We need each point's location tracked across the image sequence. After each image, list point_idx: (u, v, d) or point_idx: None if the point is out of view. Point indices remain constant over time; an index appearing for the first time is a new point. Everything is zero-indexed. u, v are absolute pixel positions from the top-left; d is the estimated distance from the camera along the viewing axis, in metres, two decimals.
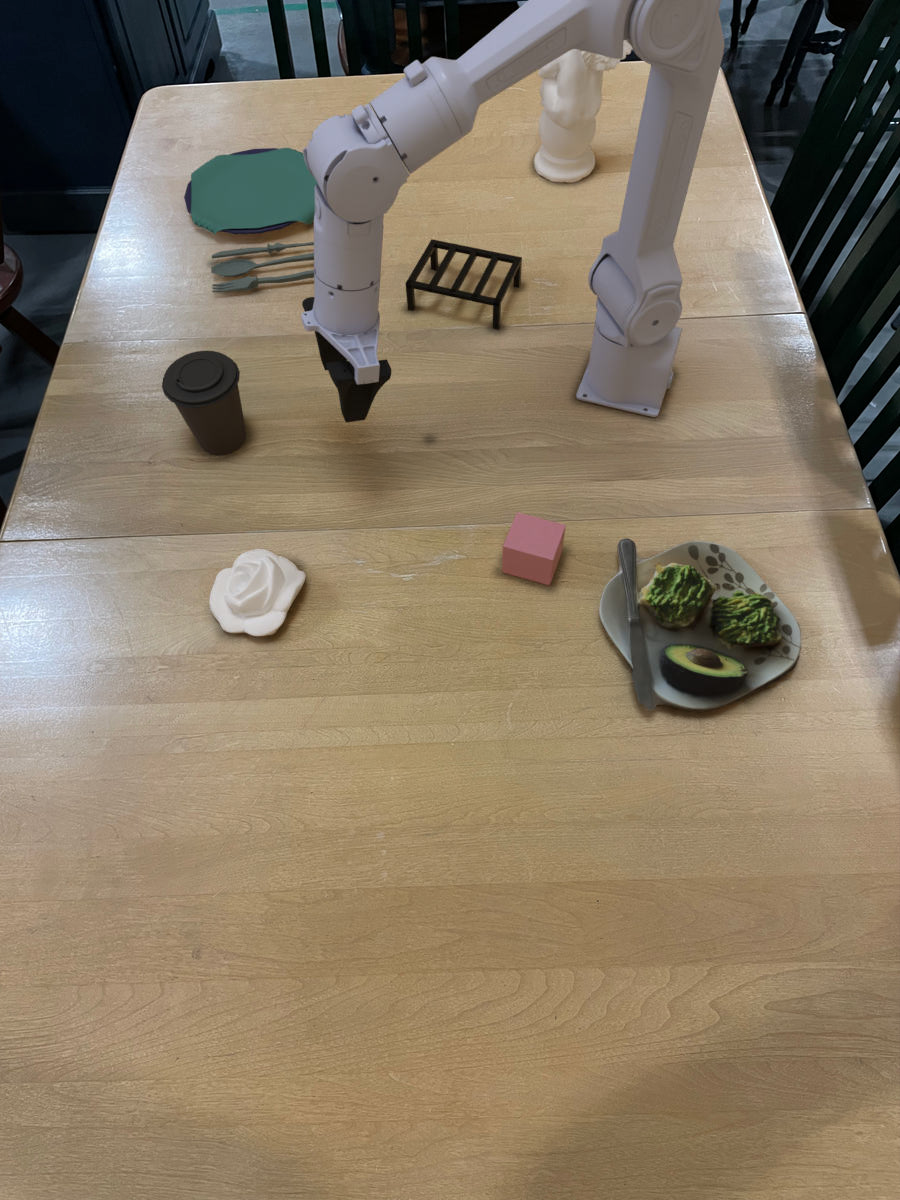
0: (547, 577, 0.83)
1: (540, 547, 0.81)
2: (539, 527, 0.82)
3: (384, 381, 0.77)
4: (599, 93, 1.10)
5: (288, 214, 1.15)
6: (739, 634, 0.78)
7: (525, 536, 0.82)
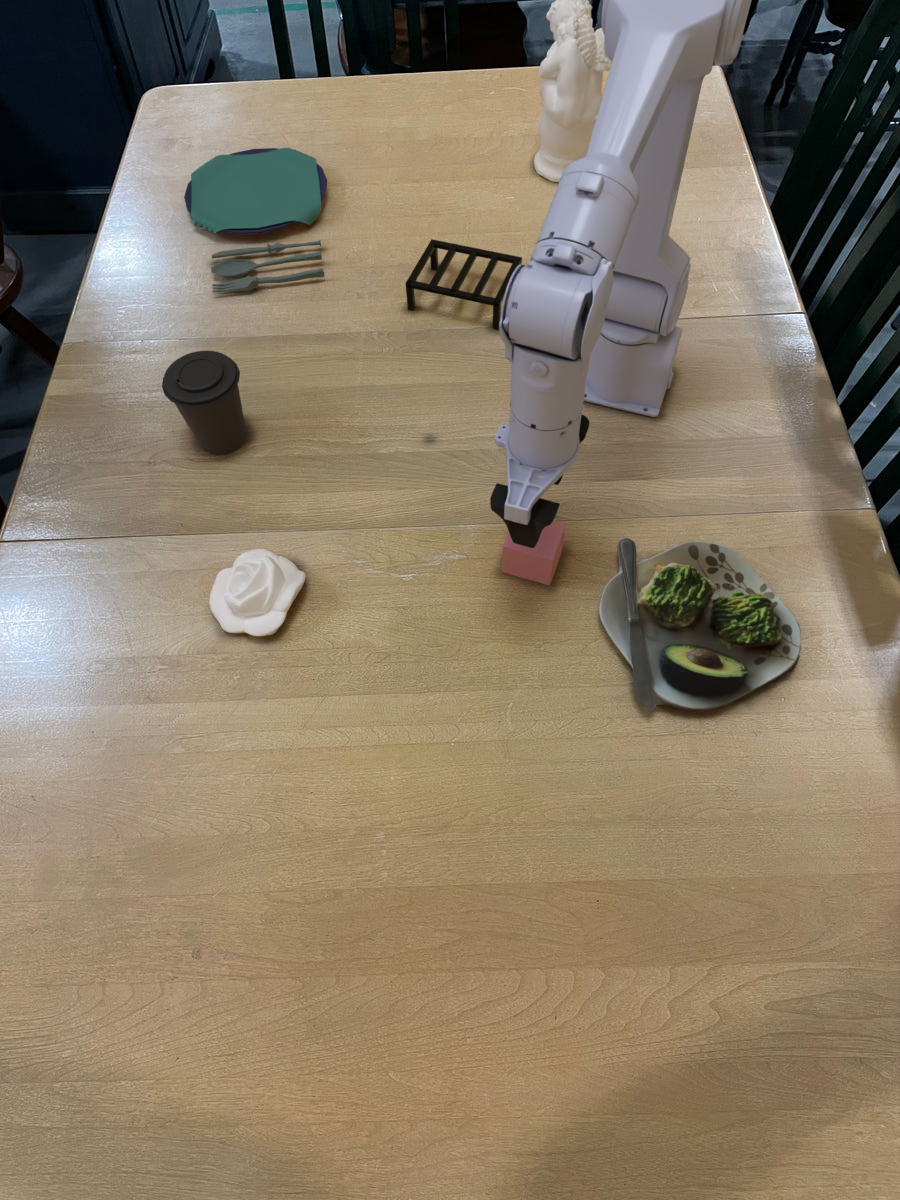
0: (547, 577, 0.83)
1: (540, 547, 0.81)
2: None
3: (543, 525, 0.70)
4: (599, 93, 1.10)
5: (288, 214, 1.15)
6: (739, 634, 0.78)
7: None
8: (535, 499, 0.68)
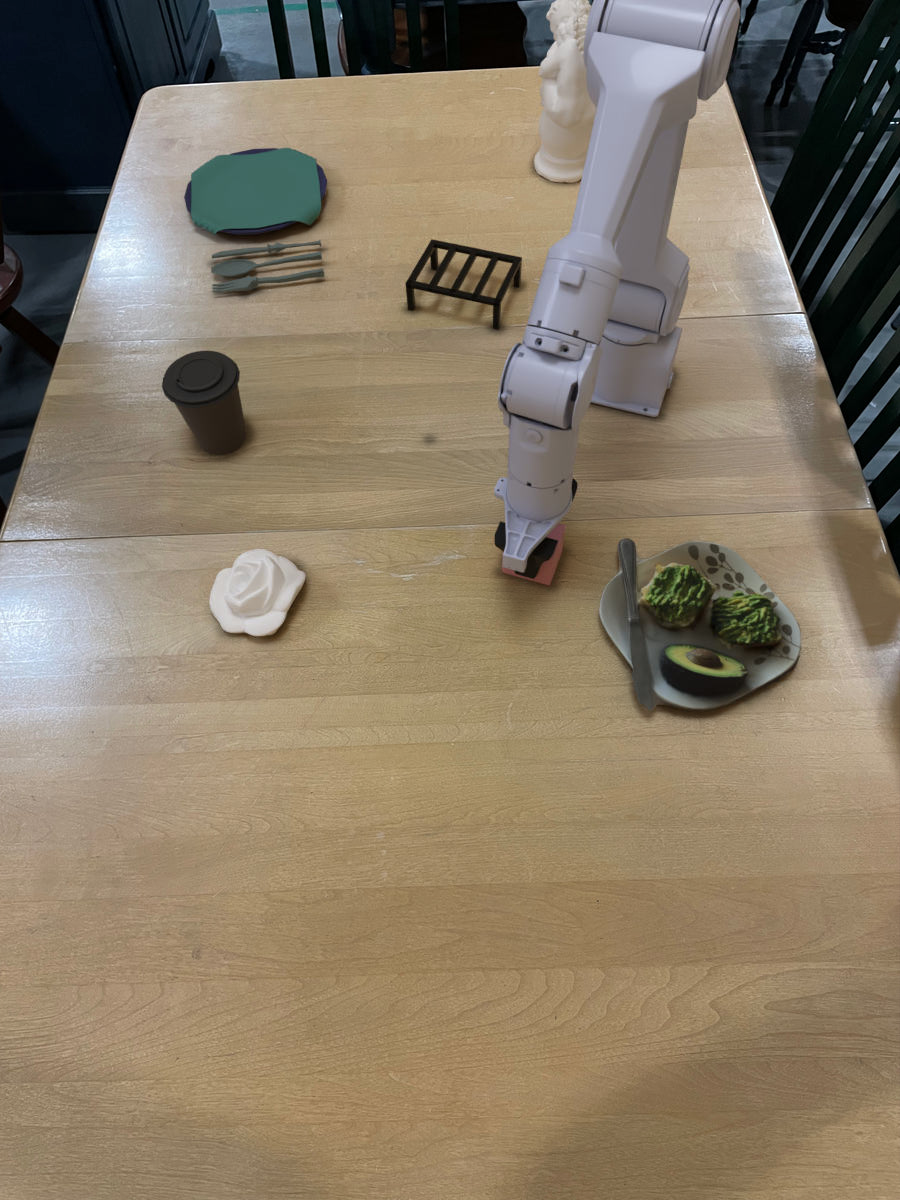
0: (547, 577, 0.83)
1: None
2: None
3: (543, 560, 0.77)
4: None
5: (288, 214, 1.15)
6: (739, 634, 0.78)
7: None
8: (531, 549, 0.74)
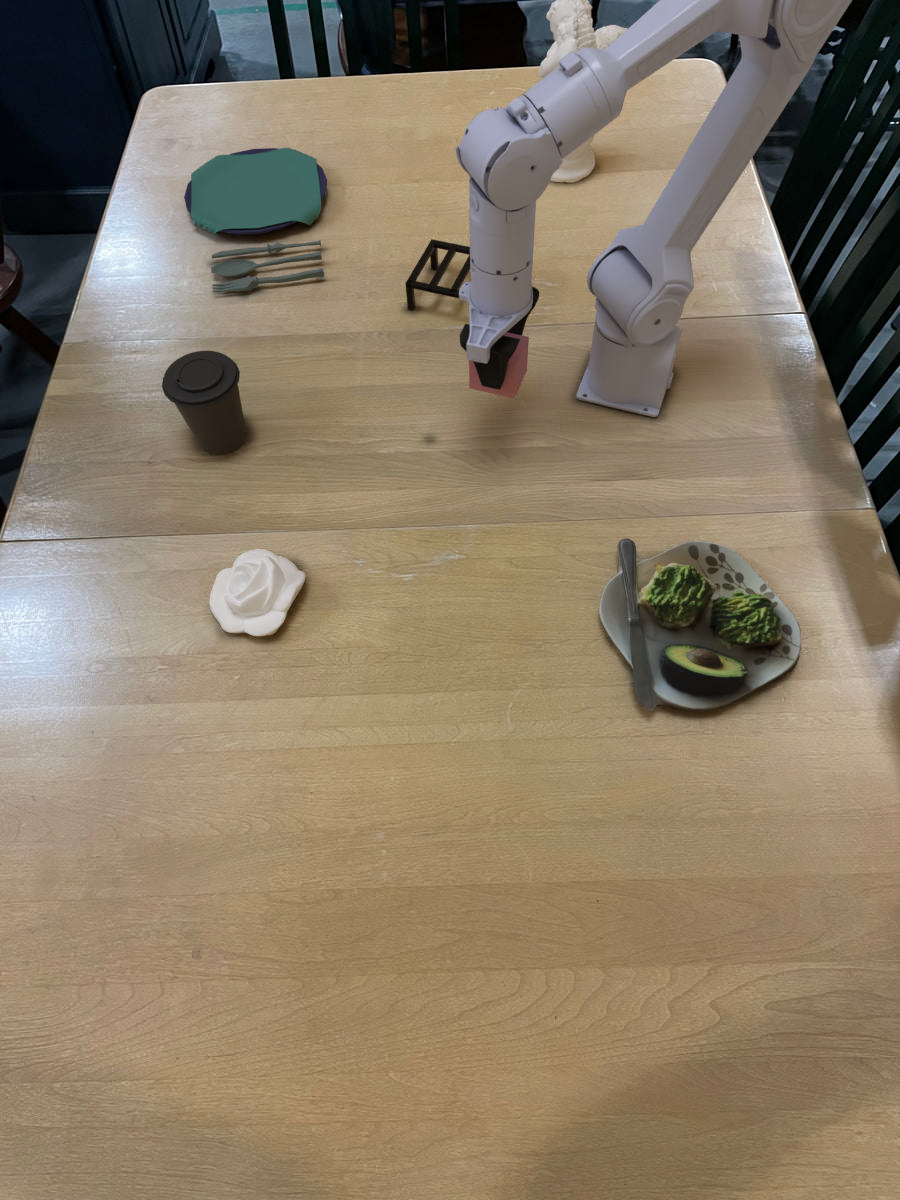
0: (512, 388, 0.87)
1: None
2: None
3: (506, 357, 0.81)
4: None
5: (288, 214, 1.15)
6: (739, 634, 0.78)
7: None
8: (493, 339, 0.78)
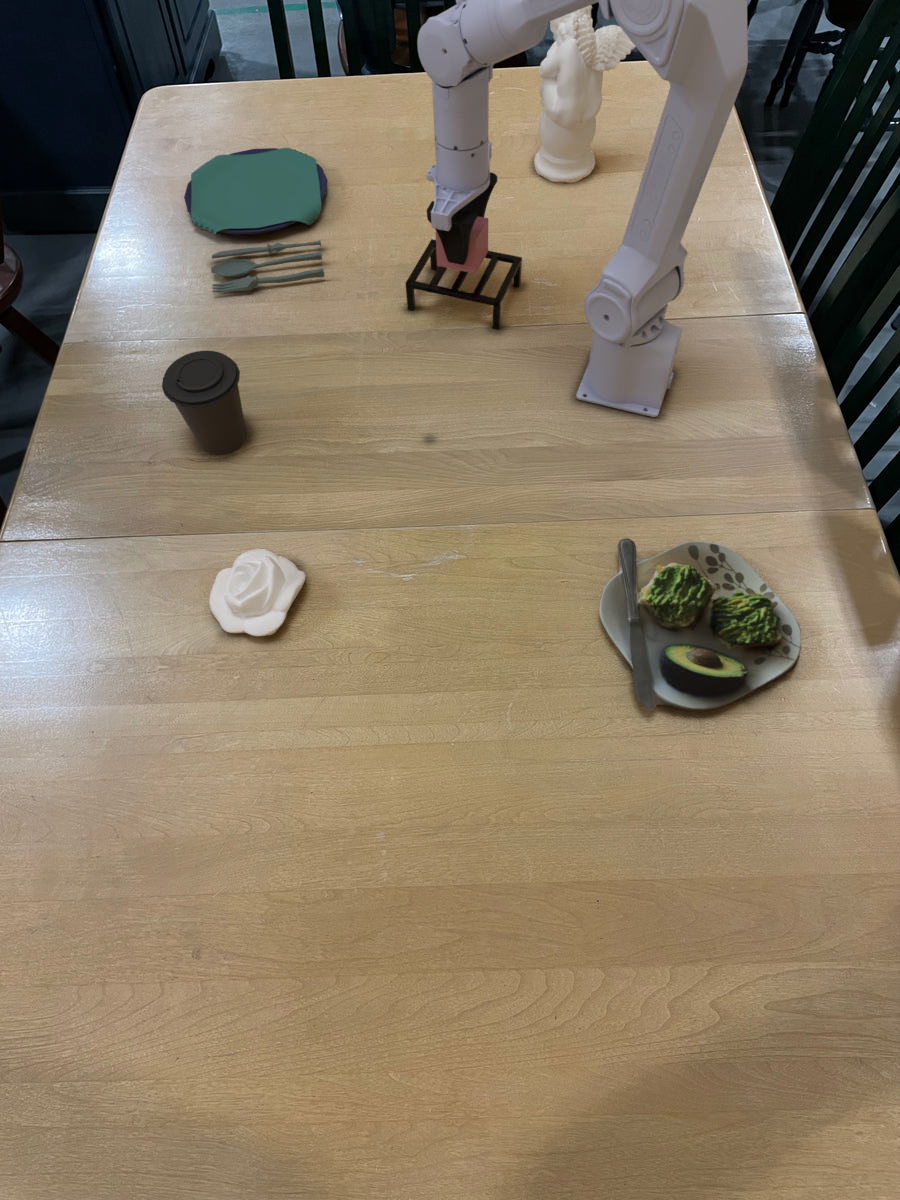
0: (473, 263, 1.00)
1: None
2: None
3: (466, 229, 0.94)
4: (599, 93, 1.10)
5: (288, 214, 1.15)
6: (739, 634, 0.78)
7: None
8: (454, 209, 0.91)
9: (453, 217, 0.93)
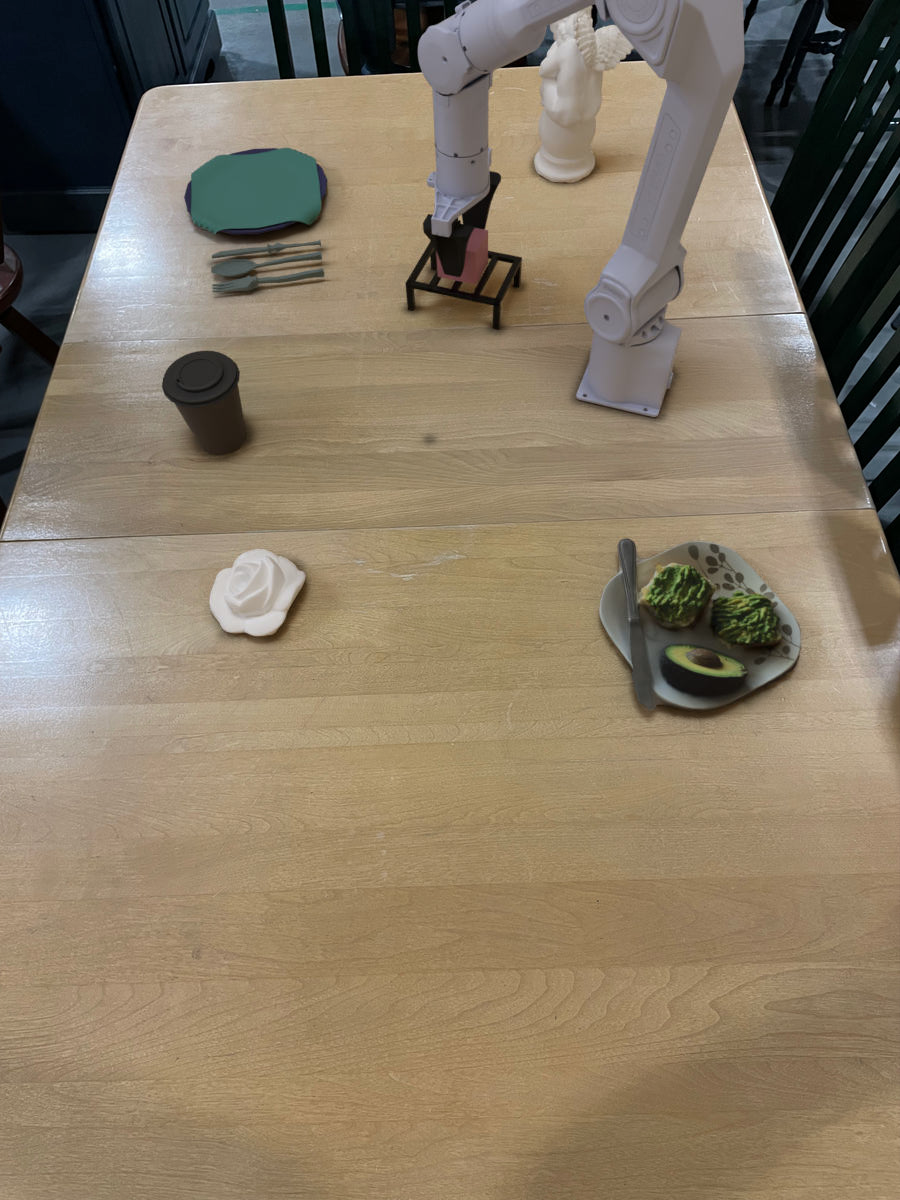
0: (473, 274, 1.01)
1: None
2: None
3: (462, 242, 0.94)
4: (599, 93, 1.10)
5: (288, 214, 1.15)
6: (739, 634, 0.78)
7: None
8: (454, 215, 0.91)
9: None
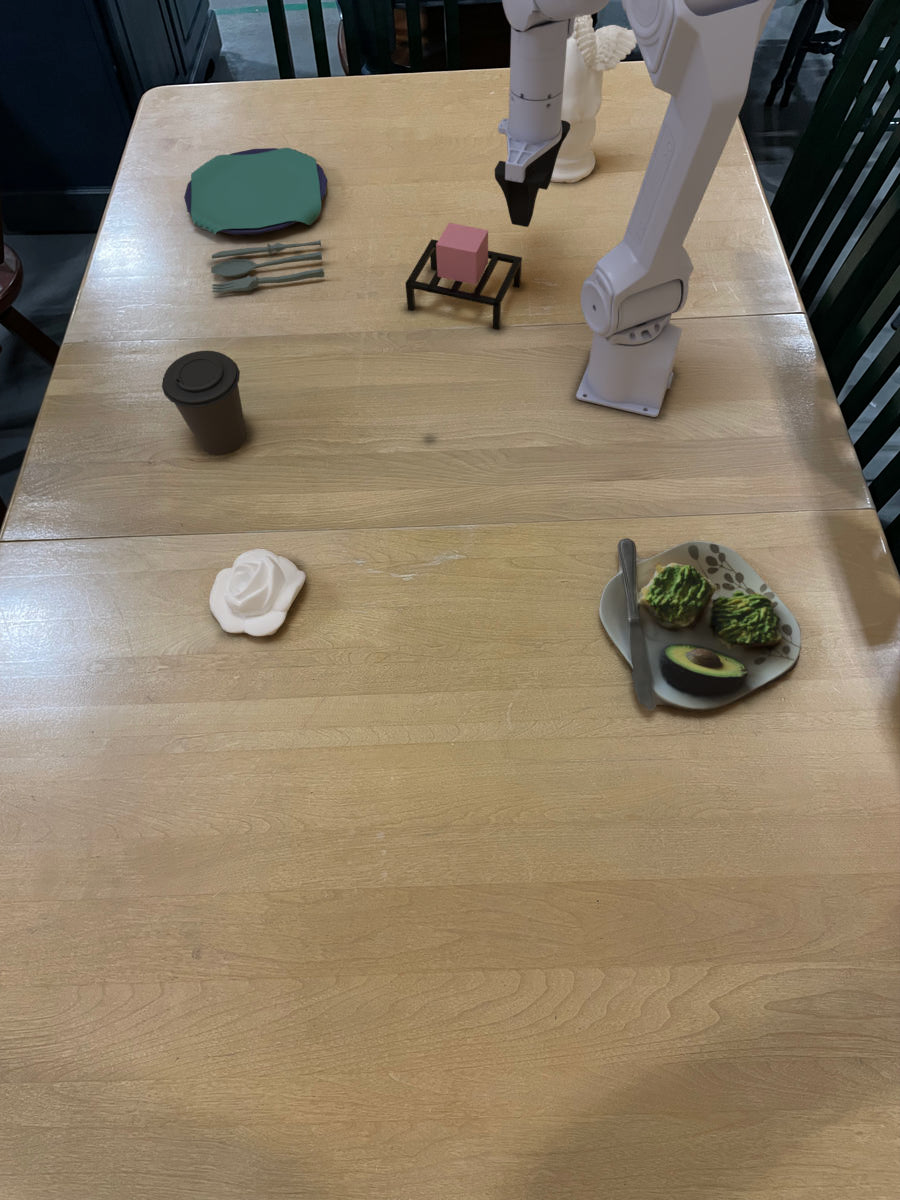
0: (473, 274, 1.01)
1: (466, 244, 0.99)
2: (466, 232, 1.00)
3: (535, 188, 0.93)
4: (599, 93, 1.10)
5: (288, 214, 1.15)
6: (739, 634, 0.78)
7: (454, 237, 1.00)
8: (528, 160, 0.91)
9: None
